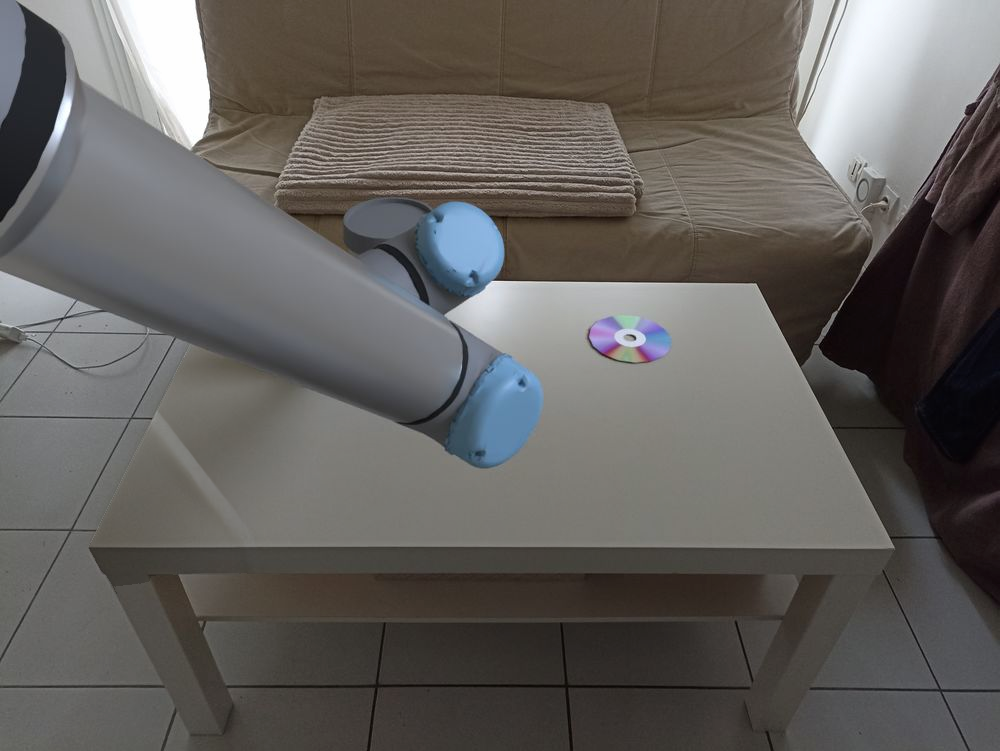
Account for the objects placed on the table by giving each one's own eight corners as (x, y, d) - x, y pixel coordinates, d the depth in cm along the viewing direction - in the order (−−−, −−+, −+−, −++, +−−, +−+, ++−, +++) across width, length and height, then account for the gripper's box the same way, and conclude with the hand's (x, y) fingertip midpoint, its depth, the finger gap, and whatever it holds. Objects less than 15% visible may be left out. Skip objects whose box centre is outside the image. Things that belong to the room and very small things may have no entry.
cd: (571, 335, 103) (572, 334, 103) (626, 306, 109) (626, 306, 109) (634, 373, 97) (634, 373, 97) (688, 341, 102) (688, 340, 102)
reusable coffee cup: (404, 281, 114) (398, 188, 105) (460, 314, 107) (458, 218, 98) (335, 312, 107) (321, 215, 98) (389, 350, 100) (380, 250, 91)
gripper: (360, 361, 69) (296, 409, 89) (469, 308, 76) (386, 364, 96) (321, 289, 69) (265, 353, 89) (434, 243, 76) (358, 312, 96)
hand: (328, 358), depth 92 cm, fingers closed
